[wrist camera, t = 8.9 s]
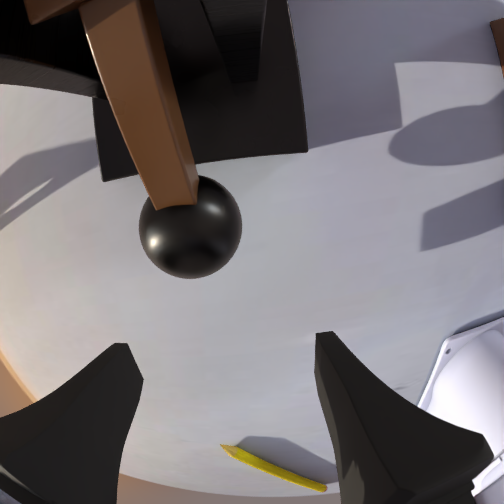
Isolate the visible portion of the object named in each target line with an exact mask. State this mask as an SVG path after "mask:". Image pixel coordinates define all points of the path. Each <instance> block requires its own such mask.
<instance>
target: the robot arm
mask: <svg viewBox="0 0 504 504" xmlns="http://www.w3.org/2000/svg"><path fill="white" fill-rule="evenodd" d="M314 373H315V379H316V385H317V391H318V396H319V400H320V403H321V406H322V410H323V413H324V416H325V420H326V423H327V427H328V430H329V433H330V437H331V440H332V444H333V448H334V453H335V459H336V465H337V472H338V479H339V487H340V496H341V504H504V317H503V318H500V319H498V320H495V321H493V322H490V323H487V324H485V325H482V326H479V327H477V328H474V329H471V330H468V331H465V332H462V333H459V334H456V335H453V336H450V337H448V338H447V339H446V340H445V341H444V343H443V345H442V348H441V351H440V354H439V357H438V359H437V362H436V364H435V367H434V370H433V372H432V375H431V377H430V379H429V382H428V384H427V386H426V389H425V391H424V393H423V395H422V398H421V400H420V402H419V404H418V406H415V405H414V404H412V403H411V402H409V401H408V400H406V399H404V398H403V397H402V396H400V395H399V394H397V393H396V392H395V391H393V390H392V389H391V388H390V387H388V386H387V385H386V384H385V383H383V382H382V381H381V380H380V379H379V378H378V377H376V376H375V375H374V374H373V373H372V372H371V371H370V370H369V369H368V368H367V367H366V366H365V365H364V364H363V363H362V362H361V361H360V360H359V359H358V358H357V357H356V356H355V355H354V354H353V353H352V352H351V351H350V350H349V349H348V348H347V347H346V345H345V344H344V343H343V342H342V341H341V340H340V339H339V337H338V336H337V335H336V334H335V333H334V332H333V331H329V332H322V333H316V345H315V369H314ZM143 380H144V379H143V377H142V375H141V373H140V370H139V368H138V366H137V364H136V362H135V360H134V357H133V355H132V353H131V350H130V348H129V346H128V343H114V344H113V345H111V346H110V347H109V348H107V349H106V350H105V351H104V352H102V353H101V354H100V355H99V356H98V357H96V358H95V359H94V360H93V361H92V362H90V363H89V364H88V365H87V366H86V367H84V368H83V369H82V370H81V371H80V372H78V373H77V374H76V375H75V376H73V377H72V378H71V379H69V380H68V381H67V382H66V383H64V384H63V385H62V386H60V387H59V388H58V389H56V390H55V391H53V392H52V393H50V394H49V395H47V396H46V397H44V398H42V399H41V400H39V401H37V402H35V403H33V404H31V405H29V406H28V407H25V408H23V409H21V410H19V411H17V412H14V413H12V414H9V415H6V416H4V417H1V418H0V504H116V502H117V485H118V476H119V468H120V462H121V457H122V452H123V448H124V444H125V441H126V438H127V435H128V432H129V429H130V426H131V423H132V421H133V418H134V415H135V412H136V409H137V406H138V403H139V400H140V396H141V391H142V386H143Z"/></svg>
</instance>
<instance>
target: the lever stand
mask: <svg viewBox="0 0 504 504" xmlns="http://www.w3.org/2000/svg"><path fill="white" fill-rule="evenodd" d="M154 4H155V8H156V13H157V17H158V22H159V26H160V31H161V35H162V39H163V43H164V48H165V52H166V56H167V60H168V64H169V68H170V72H171V76H172V80H173V84H174V88H175V92H176V96H177V100H178V104H179V107H180V111H181V115H182V119H183V123H184V126H185V130H186V134H187V137H188V141H189V145H190V148H191V152H192V156H193V159H194V163H195V164H201V163H207V162H215V161H222V160H230V159H238V158H247V157H257V156H268V155H279V154H293V153H306V152H308V142H307V131H306V121H305V112H304V103H303V95H302V87H301V79H300V72H299V65H298V58H297V51H296V45H295V39H294V33H293V27H292V21H291V16H290V10H289V5H288V0H154ZM0 84H9V85H19V86H28V87H36V88H43V89H50V90H56V91H62V92H68V93H73V94H79V95H84V96H89V97H92V102H93V115H94V126H95V135H96V143H97V151H98V158H99V165H100V171H101V177H102V181H103V182H107V181H111V180H116V179H120V178H124V177H129V176H134V175H138V174H139V173H138V171H137V168H136V166H135V164H134V161H133V159H132V157H131V155H130V152H129V150H128V148H127V145H126V143H125V140H124V138H123V136H122V133H121V131H120V128H119V126H118V123H117V121H116V118H115V116H114V113H113V111H112V108H111V106H110V103H109V100H108V98H107V95H106V92H105V90H104V87H103V84H102V82H101V79H100V76H99V73H98V70H97V67H96V64H95V61H94V59H93V56H92V53H91V49H90V46H89V43H88V40H87V37H86V34H85V30H84V27H83V24H82V20H81V17H80V13H79V9H76V10H73V11H70V12H67V13H64V14H61V15H58V16H55V17H53V18H50V19H48V20H45V21H43V22H40V23H38V24H34V25H31V24H30V22H29V19H28V15H27V12H26V8H25V5H24V1H23V0H0Z"/></svg>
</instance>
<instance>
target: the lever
mask: <svg viewBox="0 0 504 504" xmlns="http://www.w3.org/2000/svg"><path fill="white" fill-rule="evenodd" d="M23 1H24V5H25V8H26V12H27V15H28V19H29V22H30V24H31V25H34V24H38V23H40V22H43V21H45V20H48V19H50V18H53V17H55V16H58V15H61V14H64V13H67V12H70V11H73V10H76V9H79V13H80V17H81V20H82V24H83V27H84V30H85V34H86V37H87V40H88V43H89V46H90V49H91V53H92V56H93V59H94V61H95V64H96V67H97V70H98V73H99V76H100V79H101V82H102V84H103V87H104V90H105V92H106V95H107V98H108V100H109V103H110V106H111V108H112V111H113V113H114V116H115V118H116V121H117V123H118V126H119V128H120V131H121V133H122V136H123V138H124V140H125V143H126V145H127V148H128V150H129V152H130V155H131V157H132V159H133V161H134V164H135V166H136V168H137V171H138V173H139V175H140V177H141V179H142V182H143V184H144V186H145V188H146V190H147V192H148V195H149V197H148V198H147V200H146V202H145V204H144V206H143V208H142V211H141V215H140V220H139V234H140V240H141V243H142V246H143V249H144V251H145V252H146V254H147V256H148V257H149V259H150V260H151V261H152V262H153V263H154V264H155V265H156V266H157V267H158V268H160V269H161V270H162V271H164V272H165V273H168V274H170V275H172V276H175V277H179V278H184V279H196V278H201V277H205V276H208V275H211V274H213V273H214V272H216V271H218V270H220V269H221V268H222V267H223V266H224V265H226V264H227V263H228V261H229V260H230V259H231V258H232V257H233V255H234V253H235V252H236V250H237V248H238V245H239V242H240V239H241V234H242V219H241V214H240V210H239V207H238V205H237V203H236V201H235V199H234V198H233V196H232V195H231V193H230V192H229V191H228V190H227V189H226V188H225V187H224V186H222V185H221V184H220V183H218V182H216V181H215V180H213V179H211V178H208V177H205V176H200V175H198V173H197V170H196V166H195V163H194V159H193V156H192V152H191V148H190V145H189V141H188V137H187V134H186V130H185V126H184V123H183V119H182V115H181V111H180V107H179V104H178V100H177V96H176V92H175V88H174V84H173V80H172V76H171V72H170V68H169V64H168V60H167V56H166V52H165V48H164V43H163V39H162V35H161V31H160V26H159V22H158V17H157V13H156V8H155V4H154V0H23Z"/></svg>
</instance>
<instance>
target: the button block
mask: <svg viewBox="0 0 504 504" xmlns="http://www.w3.org/2000/svg"><path fill="white" fill-rule="evenodd" d="M490 26H491V29H492V32H493V35H494V39H495V42H496V46H497V50H498V54H499V58H500V62H501V67H502V71H503V77H504V18H501V19H498V20H495V21H491V22H490Z"/></svg>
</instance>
